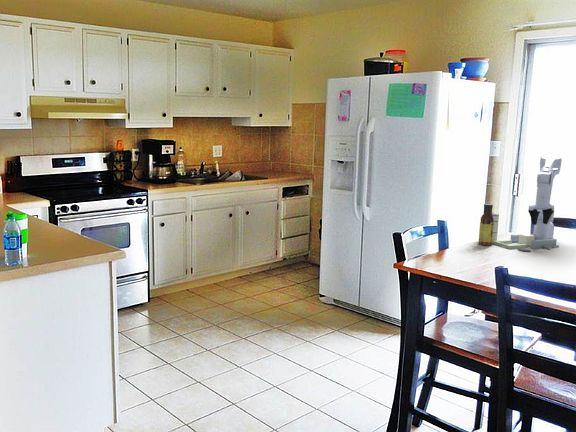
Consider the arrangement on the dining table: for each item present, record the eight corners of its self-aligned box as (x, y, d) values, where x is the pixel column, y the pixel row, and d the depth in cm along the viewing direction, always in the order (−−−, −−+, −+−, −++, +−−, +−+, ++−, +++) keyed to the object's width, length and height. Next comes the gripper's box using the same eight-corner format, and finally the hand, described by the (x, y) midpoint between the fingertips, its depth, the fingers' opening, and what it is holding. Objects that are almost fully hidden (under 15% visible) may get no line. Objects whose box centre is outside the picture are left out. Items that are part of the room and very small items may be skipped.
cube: (525, 243, 273) (526, 233, 272) (533, 245, 268) (534, 235, 267) (518, 243, 271) (519, 234, 270) (525, 246, 266) (526, 236, 265)
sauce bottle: (492, 246, 262) (496, 205, 259) (479, 245, 263) (483, 204, 260) (490, 243, 269) (494, 203, 265) (477, 242, 270) (481, 203, 266)
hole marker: (524, 248, 260) (524, 248, 260) (534, 251, 254) (534, 251, 254) (514, 249, 258) (514, 249, 258) (524, 252, 252) (524, 251, 252)
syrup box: (497, 242, 272) (499, 213, 269) (485, 242, 272) (487, 213, 269) (493, 240, 277) (495, 212, 275) (481, 239, 277) (484, 211, 275)
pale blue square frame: (532, 240, 280) (533, 233, 280) (555, 246, 267) (556, 239, 267) (510, 241, 275) (510, 234, 274) (532, 248, 262) (533, 241, 261)
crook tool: (557, 246, 266) (557, 244, 266) (564, 248, 263) (564, 246, 263) (541, 247, 263) (542, 245, 263) (548, 249, 259) (548, 247, 259)
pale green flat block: (509, 242, 272) (509, 239, 272) (526, 247, 262) (526, 244, 262) (492, 243, 269) (492, 240, 268) (509, 248, 258) (509, 245, 258)
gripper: (537, 198, 262) (534, 226, 264) (560, 197, 267) (557, 225, 269) (526, 196, 268) (523, 223, 270) (548, 195, 274) (545, 222, 276)
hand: (539, 224), depth 270 cm, fingers open, 7 cm apart
